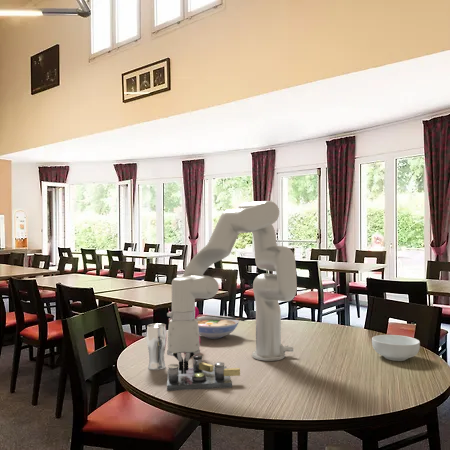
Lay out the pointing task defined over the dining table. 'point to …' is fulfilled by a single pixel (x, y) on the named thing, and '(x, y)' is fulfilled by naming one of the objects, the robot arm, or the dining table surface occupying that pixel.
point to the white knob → (173, 372)
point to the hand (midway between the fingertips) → (183, 372)
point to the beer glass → (156, 345)
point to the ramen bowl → (217, 325)
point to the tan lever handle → (201, 364)
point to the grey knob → (225, 371)
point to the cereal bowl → (396, 346)
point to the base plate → (198, 380)
